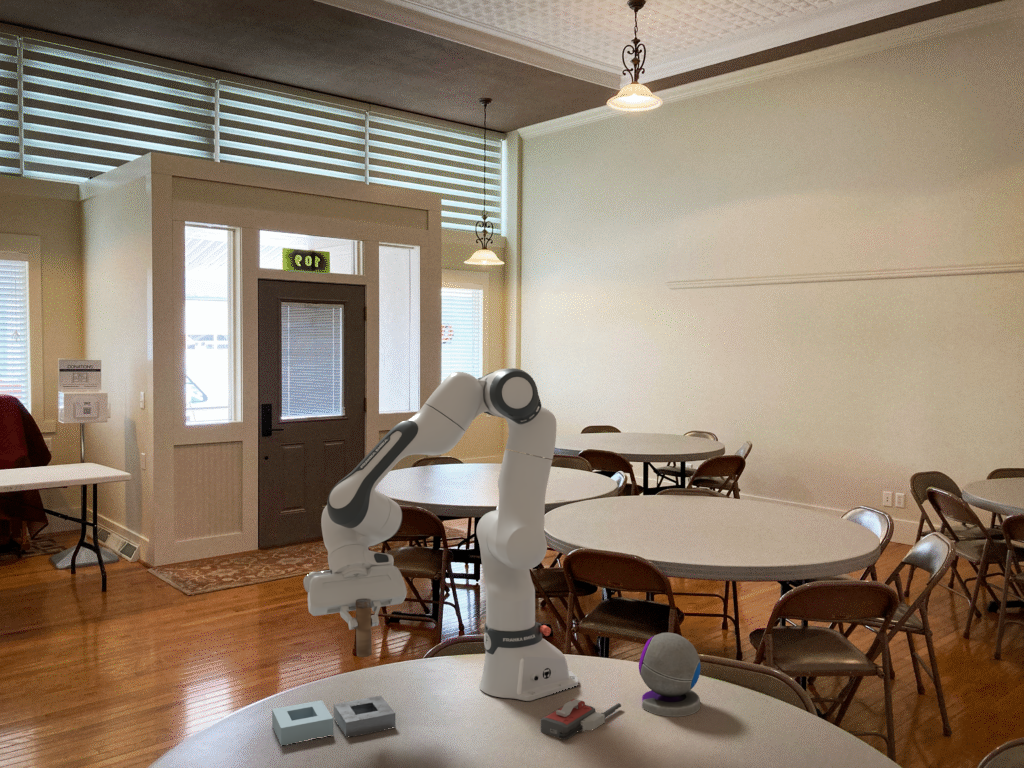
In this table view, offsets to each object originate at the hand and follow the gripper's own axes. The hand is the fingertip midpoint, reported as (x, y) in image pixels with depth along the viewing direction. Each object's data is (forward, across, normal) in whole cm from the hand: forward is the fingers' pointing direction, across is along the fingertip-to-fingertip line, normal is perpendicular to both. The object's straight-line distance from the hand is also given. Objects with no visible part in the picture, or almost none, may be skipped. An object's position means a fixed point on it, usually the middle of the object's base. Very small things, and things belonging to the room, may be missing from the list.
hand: (364, 626), depth 166 cm
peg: (+4, 0, +5) cm, 6 cm away
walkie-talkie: (+28, +39, +2) cm, 48 cm away
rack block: (+12, -12, +16) cm, 23 cm away
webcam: (+28, +61, +1) cm, 67 cm away
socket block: (+14, 0, +14) cm, 20 cm away
